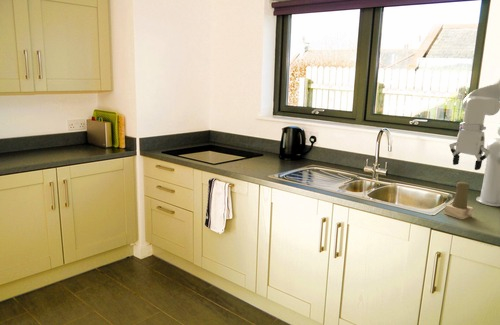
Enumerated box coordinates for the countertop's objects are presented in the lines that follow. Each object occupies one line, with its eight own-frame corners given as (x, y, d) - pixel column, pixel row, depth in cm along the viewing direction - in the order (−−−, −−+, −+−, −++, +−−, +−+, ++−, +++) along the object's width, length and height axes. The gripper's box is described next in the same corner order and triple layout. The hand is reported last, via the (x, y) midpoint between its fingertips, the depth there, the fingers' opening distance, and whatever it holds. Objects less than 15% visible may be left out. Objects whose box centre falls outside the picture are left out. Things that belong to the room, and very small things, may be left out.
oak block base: (454, 210, 192) (455, 202, 191) (471, 216, 185) (473, 207, 185) (444, 213, 188) (445, 205, 187) (461, 219, 181) (462, 210, 180)
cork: (462, 204, 189) (466, 180, 186) (469, 208, 183) (474, 184, 180) (449, 203, 189) (453, 180, 186) (456, 208, 183) (460, 184, 180)
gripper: (498, 130, 173) (491, 170, 177) (458, 124, 187) (452, 161, 191) (488, 131, 169) (481, 172, 173) (448, 125, 183) (442, 163, 187)
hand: (466, 166), depth 182 cm, fingers open, 9 cm apart
